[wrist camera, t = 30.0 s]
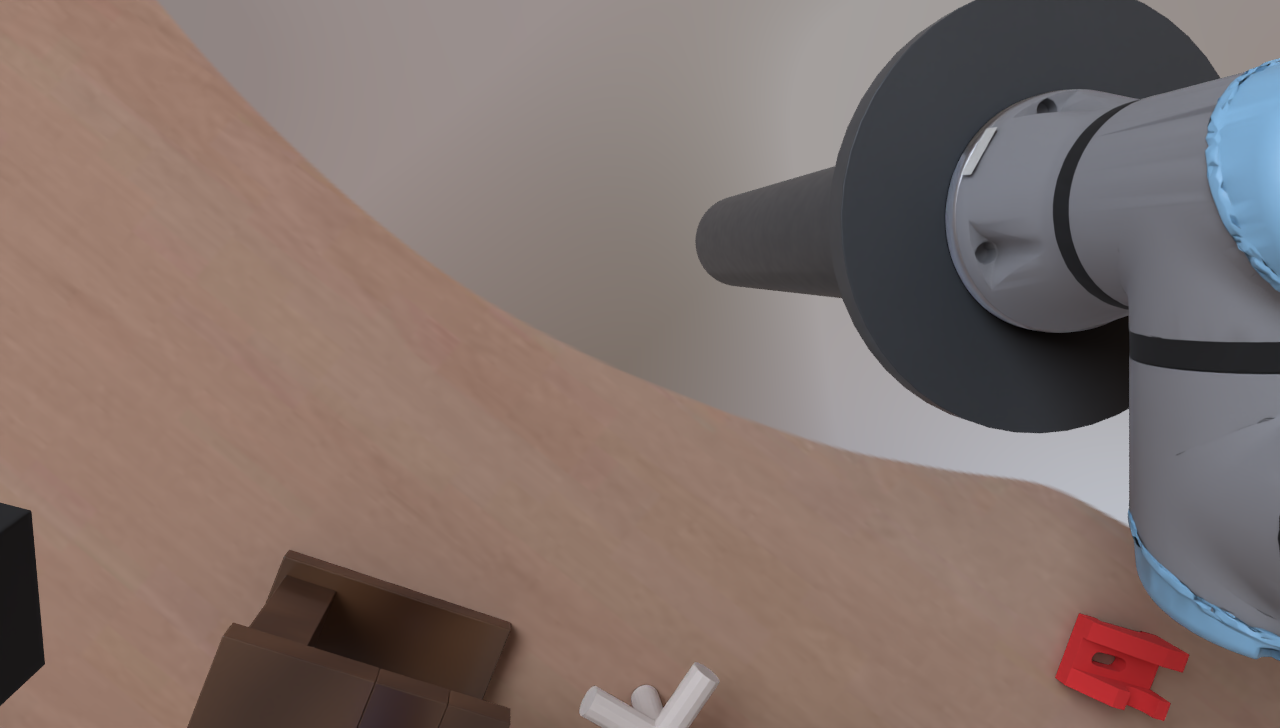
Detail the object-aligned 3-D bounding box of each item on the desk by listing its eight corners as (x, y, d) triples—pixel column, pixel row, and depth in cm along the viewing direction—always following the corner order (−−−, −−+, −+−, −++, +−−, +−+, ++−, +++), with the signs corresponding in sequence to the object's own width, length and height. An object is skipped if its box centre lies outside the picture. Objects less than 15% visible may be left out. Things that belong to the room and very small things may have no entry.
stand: (510, 622, 54) (510, 723, 42) (451, 766, 54) (435, 906, 42) (289, 549, 51) (222, 635, 39) (229, 701, 52) (146, 831, 40)
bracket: (1156, 635, 61) (1189, 654, 58) (1132, 698, 61) (1164, 721, 58) (1079, 613, 60) (1108, 631, 57) (1055, 677, 60) (1083, 699, 57)
